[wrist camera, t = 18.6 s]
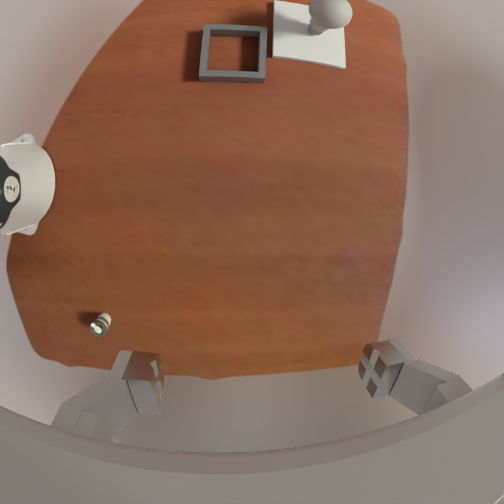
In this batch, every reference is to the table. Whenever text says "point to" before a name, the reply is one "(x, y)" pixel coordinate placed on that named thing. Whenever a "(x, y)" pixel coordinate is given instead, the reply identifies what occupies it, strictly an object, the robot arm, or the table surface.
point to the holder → (233, 31)
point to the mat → (304, 38)
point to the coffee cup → (100, 325)
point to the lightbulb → (328, 15)
